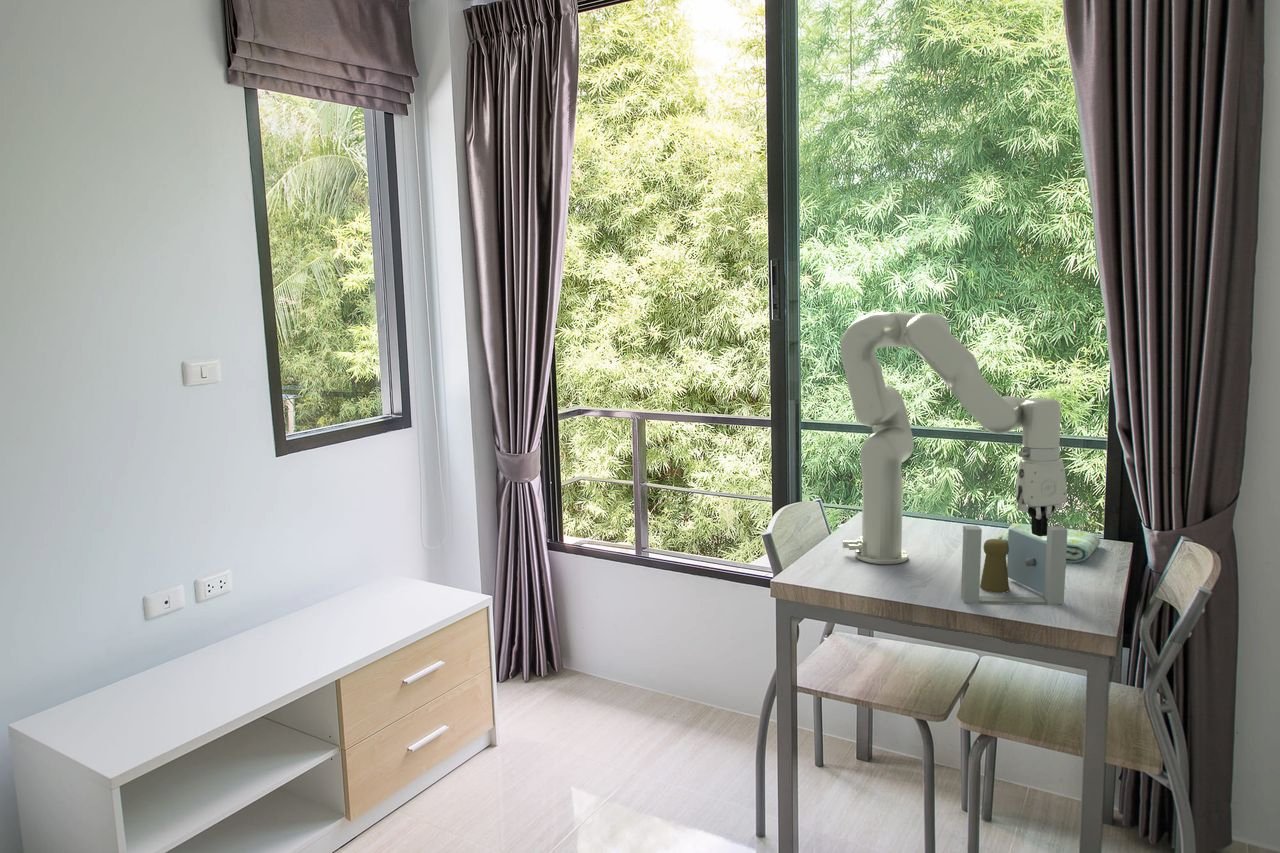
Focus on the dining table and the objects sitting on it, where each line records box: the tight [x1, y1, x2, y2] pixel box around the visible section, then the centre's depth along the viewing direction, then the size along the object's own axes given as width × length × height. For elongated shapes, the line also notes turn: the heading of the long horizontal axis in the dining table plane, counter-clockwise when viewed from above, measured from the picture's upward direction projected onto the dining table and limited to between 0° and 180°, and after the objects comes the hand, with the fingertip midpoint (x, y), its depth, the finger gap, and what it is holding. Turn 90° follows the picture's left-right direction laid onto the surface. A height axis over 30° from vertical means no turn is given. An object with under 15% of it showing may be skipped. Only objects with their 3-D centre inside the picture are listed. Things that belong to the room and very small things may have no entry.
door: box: [1006, 528, 1047, 596], centre depth 194 cm, size 13×3×11 cm, turn 13°
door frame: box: [960, 525, 1068, 605], centre depth 187 cm, size 20×3×16 cm, turn 83°
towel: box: [996, 522, 1101, 564], centre depth 223 cm, size 18×21×5 cm
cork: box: [980, 538, 1010, 594], centre depth 196 cm, size 6×6×11 cm
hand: (1039, 534), depth 200 cm, fingers closed
